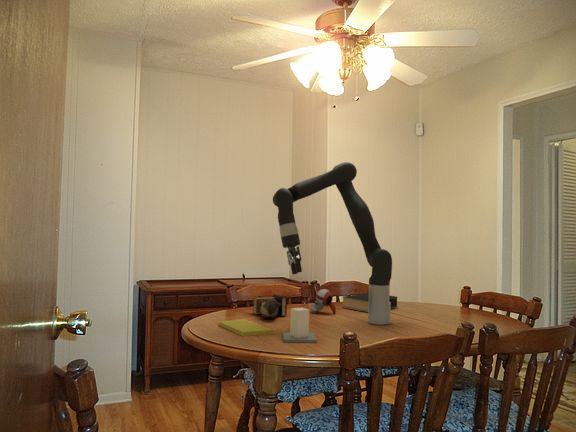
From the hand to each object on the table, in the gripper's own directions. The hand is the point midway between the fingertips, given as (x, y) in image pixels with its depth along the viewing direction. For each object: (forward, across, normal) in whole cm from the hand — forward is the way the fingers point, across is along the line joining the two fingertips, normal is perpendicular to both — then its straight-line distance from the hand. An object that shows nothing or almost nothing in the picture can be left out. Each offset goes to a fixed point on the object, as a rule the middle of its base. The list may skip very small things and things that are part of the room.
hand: (297, 273), depth 185 cm
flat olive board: (+19, +5, +25) cm, 32 cm away
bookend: (+17, +29, +10) cm, 35 cm away
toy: (+20, +39, -16) cm, 46 cm away
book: (+24, +50, -47) cm, 72 cm away
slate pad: (+25, -11, +7) cm, 28 cm away
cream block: (+24, -11, +7) cm, 27 cm away
